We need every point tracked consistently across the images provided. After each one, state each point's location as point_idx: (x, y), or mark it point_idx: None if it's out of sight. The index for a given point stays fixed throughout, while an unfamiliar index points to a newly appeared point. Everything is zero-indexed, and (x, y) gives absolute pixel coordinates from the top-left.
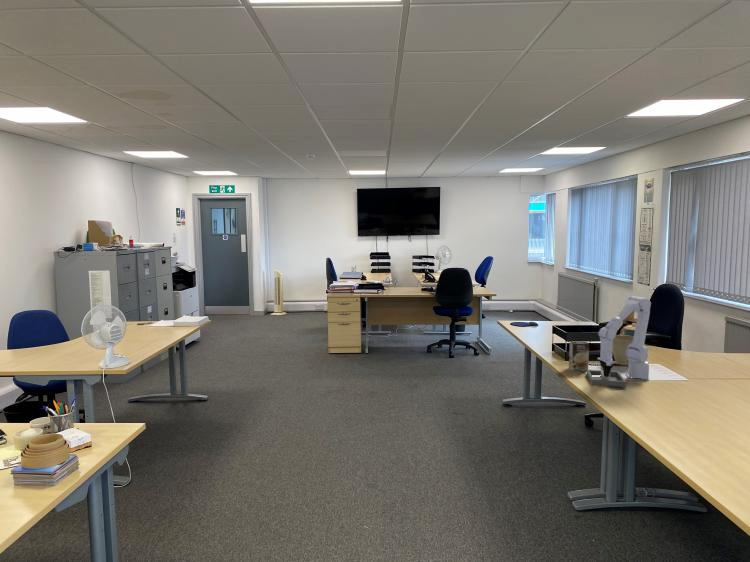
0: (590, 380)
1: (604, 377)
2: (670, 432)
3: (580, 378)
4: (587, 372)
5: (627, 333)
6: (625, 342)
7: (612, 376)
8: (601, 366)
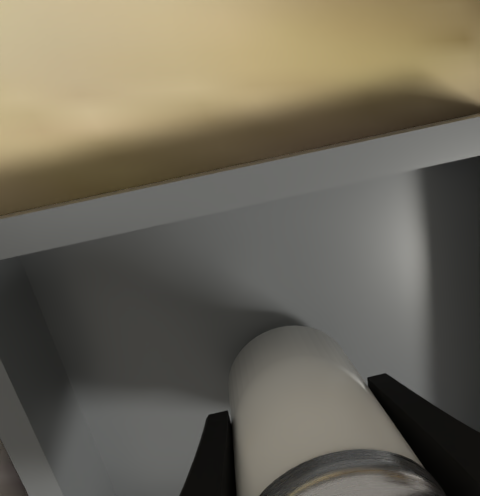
0: (110, 192)
1: (231, 397)
2: None
3: (274, 19)
4: (469, 117)
5: None
6: None
7: (467, 422)
8: (472, 475)
